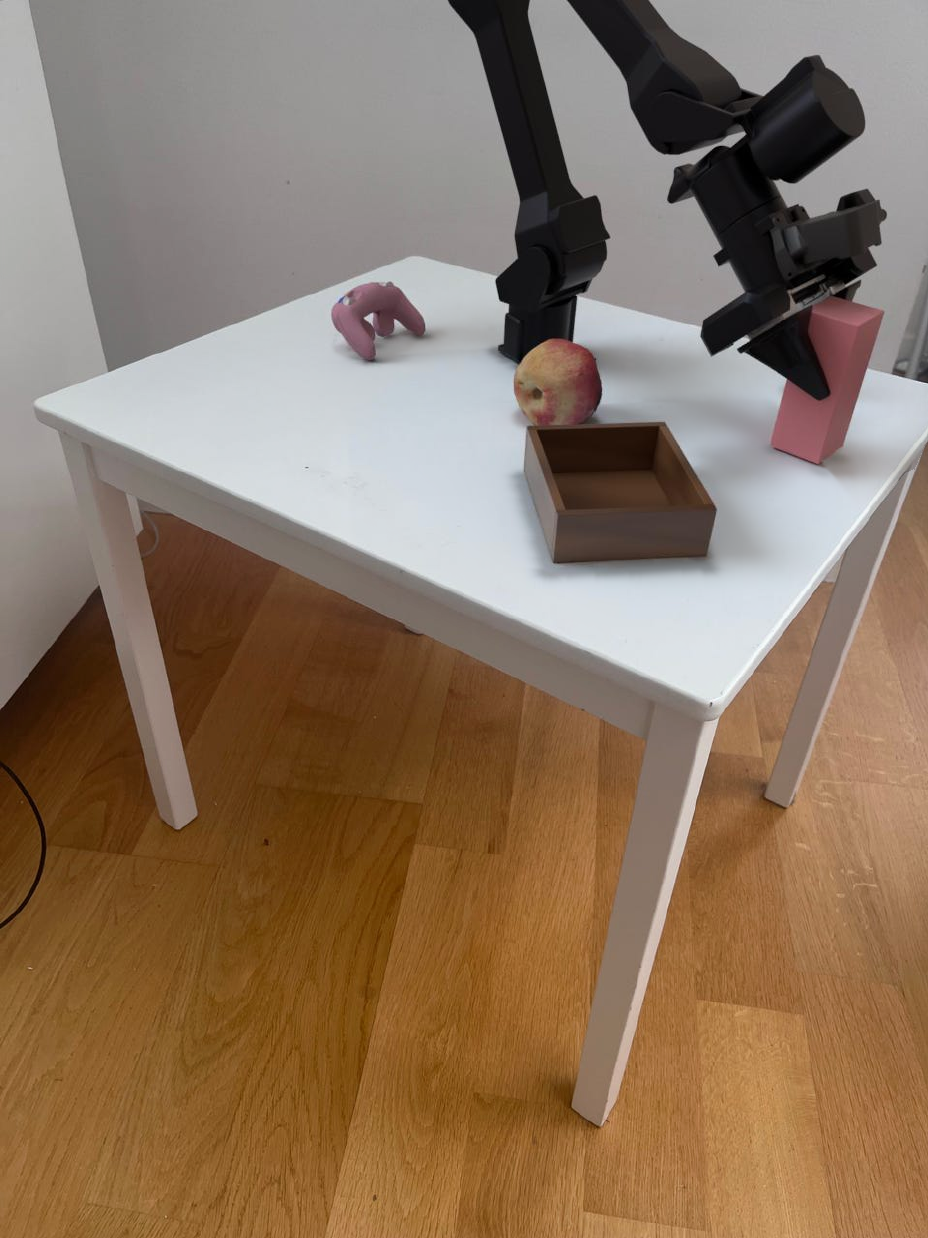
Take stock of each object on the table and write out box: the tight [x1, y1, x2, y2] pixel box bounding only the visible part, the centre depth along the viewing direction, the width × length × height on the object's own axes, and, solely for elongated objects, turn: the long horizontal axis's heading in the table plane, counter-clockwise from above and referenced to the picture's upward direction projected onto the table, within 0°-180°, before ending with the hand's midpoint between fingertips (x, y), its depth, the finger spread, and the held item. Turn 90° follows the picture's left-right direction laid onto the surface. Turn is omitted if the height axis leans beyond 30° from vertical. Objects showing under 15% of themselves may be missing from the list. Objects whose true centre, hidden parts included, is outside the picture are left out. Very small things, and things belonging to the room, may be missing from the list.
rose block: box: [769, 296, 885, 465], centre depth 78 cm, size 5×5×12 cm
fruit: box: [513, 339, 603, 426], centre depth 83 cm, size 8×8×8 cm
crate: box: [522, 421, 718, 564], centre depth 72 cm, size 13×11×5 cm
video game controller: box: [330, 281, 427, 361], centre depth 98 cm, size 10×5×7 cm, turn 144°
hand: (838, 389), depth 77 cm, fingers closed on rose block, 4 cm apart
